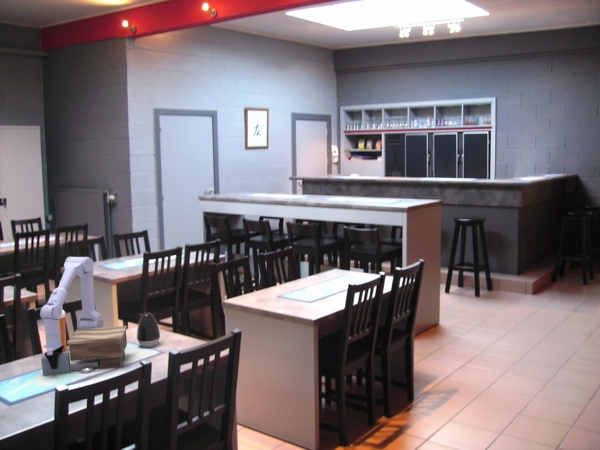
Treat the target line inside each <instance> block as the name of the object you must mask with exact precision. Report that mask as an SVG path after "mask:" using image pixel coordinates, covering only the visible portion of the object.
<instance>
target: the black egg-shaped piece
mask: <svg viewBox="0 0 600 450" xmlns="http://www.w3.org/2000/svg"><path fill="white" fill-rule="evenodd" d="M138 315H139V317H140V318H139V322H138V325H137V330H136V339H137V341H138V344H139V345H140V346H141V347H143V348H152V347H155V346H156V345H157V344H158V343H159V341H160V338H161V332H160V328H159V325H158V322H157V320H156V318H155V316H154V315H153V314H152V313H151V312H144V313H143V314H142V313H141V312H139V313H138Z"/></svg>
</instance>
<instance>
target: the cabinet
mask: <svg viewBox="0 0 600 450" xmlns="http://www.w3.org/2000/svg"><path fill="white" fill-rule="evenodd" d="M127 330H128V325H122V326H109V327H106V326H105V327H103V328H91V329H78V328H76V330H75V331H74V332H73V334H72V335H71V336H70V338H69V339H68V340H67V341H66V344H67V346H68V345H69V359H70V362H71V361H72V362H74V361H75V362H76V361H88V360H99V361H98V362H99V369H112V368H120V367H122V364H123V361H124V359H125V356H126V355H125V354H126V352H125V351H126V348H127V346H128V342H127V340H128V339H127Z"/></svg>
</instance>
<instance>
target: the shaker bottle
mask: <svg viewBox="0 0 600 450" xmlns="http://www.w3.org/2000/svg"><path fill="white" fill-rule="evenodd" d="M59 320H60V332H61V342H62V346H64V348H63V351H62V353H65V352H66V351H67V332H66V311H65V310H64V309H62V315H61V317H60V318H59Z"/></svg>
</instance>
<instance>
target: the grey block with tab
mask: <svg viewBox="0 0 600 450" xmlns="http://www.w3.org/2000/svg"><path fill="white" fill-rule="evenodd" d="M40 360H41V370H42V376H51V375H52V376H53V375H58V374H64V373H65V374H66V373H70V371H78V370H80V368H81V367H84V366H93V368H94V369H95V368H98V367H99V361H94V362H85V363H77V364H71V359H70V351H69V352H62V353H60V354H59V357H58V367H57V369H51V367H50V364H49V361H48V359H47V358H46V356H45V354H44V355H42V356H41V359H40Z"/></svg>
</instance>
